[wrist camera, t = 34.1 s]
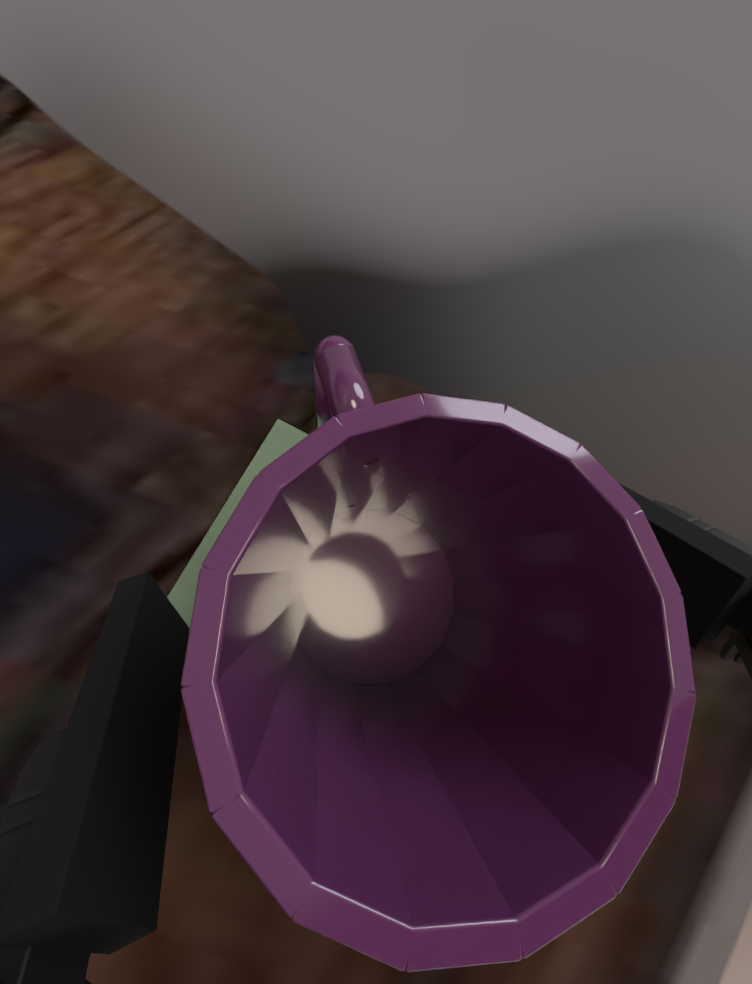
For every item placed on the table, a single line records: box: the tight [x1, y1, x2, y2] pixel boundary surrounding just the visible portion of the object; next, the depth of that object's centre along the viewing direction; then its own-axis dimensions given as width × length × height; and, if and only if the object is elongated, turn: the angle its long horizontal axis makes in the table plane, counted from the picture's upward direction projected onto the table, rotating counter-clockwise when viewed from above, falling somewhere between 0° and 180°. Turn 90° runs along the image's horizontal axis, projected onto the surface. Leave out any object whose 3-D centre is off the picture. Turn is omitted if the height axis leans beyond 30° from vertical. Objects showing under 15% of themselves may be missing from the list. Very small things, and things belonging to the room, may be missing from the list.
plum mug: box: [181, 335, 696, 972], centre depth 11 cm, size 12×9×11 cm
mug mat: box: [167, 419, 308, 631], centre depth 17 cm, size 16×11×1 cm
